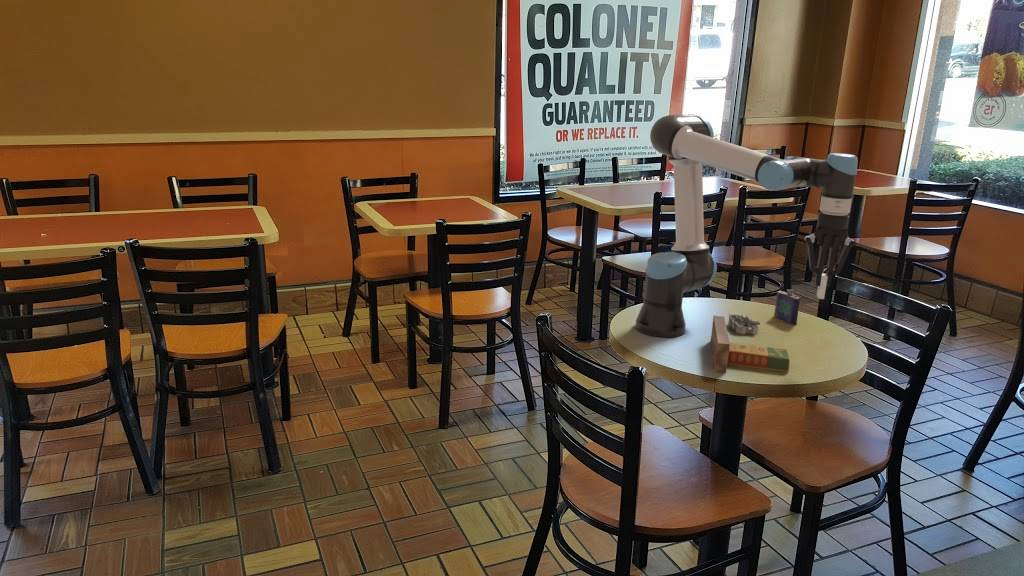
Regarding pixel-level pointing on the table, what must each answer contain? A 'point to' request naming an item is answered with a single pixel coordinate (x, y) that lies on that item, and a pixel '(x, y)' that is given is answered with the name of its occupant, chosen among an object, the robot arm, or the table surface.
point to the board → (719, 344)
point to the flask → (787, 307)
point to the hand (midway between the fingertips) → (820, 297)
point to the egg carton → (743, 324)
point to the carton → (758, 357)
